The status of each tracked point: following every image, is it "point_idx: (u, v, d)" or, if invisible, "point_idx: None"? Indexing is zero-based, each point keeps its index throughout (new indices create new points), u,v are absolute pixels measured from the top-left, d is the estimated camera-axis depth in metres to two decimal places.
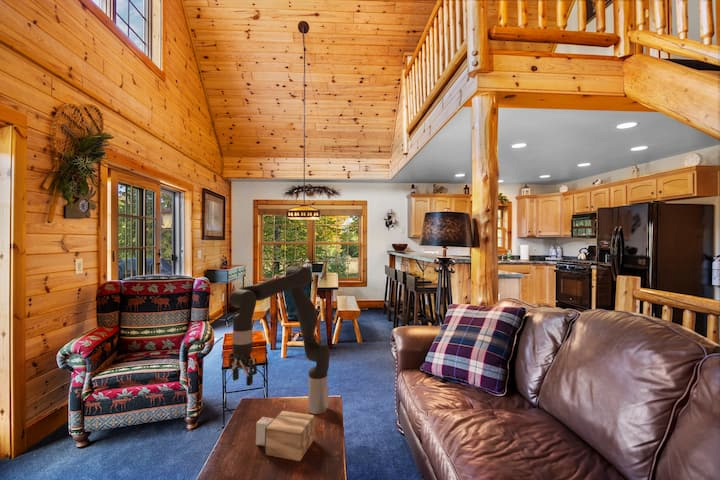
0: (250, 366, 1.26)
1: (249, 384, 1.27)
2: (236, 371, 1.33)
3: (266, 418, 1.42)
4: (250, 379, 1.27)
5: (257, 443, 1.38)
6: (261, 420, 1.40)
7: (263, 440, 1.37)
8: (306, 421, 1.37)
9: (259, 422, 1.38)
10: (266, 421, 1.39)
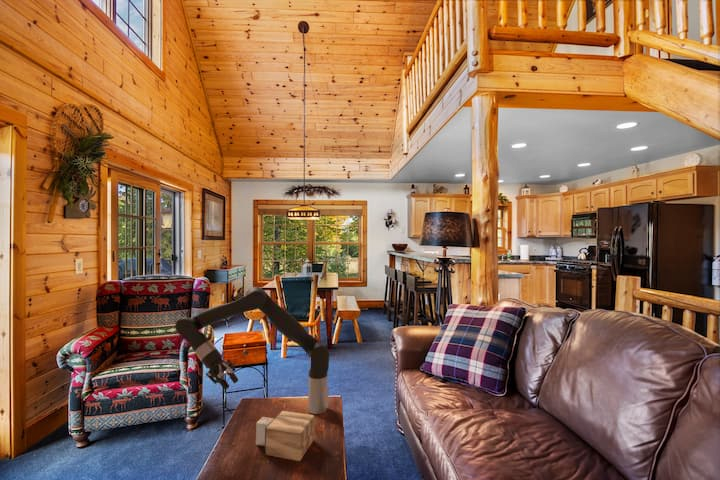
0: None
1: (224, 388, 1.40)
2: (231, 376, 1.47)
3: (266, 418, 1.42)
4: (222, 384, 1.40)
5: (257, 443, 1.38)
6: (261, 420, 1.40)
7: (263, 440, 1.37)
8: (306, 421, 1.37)
9: (259, 422, 1.38)
10: (266, 421, 1.39)
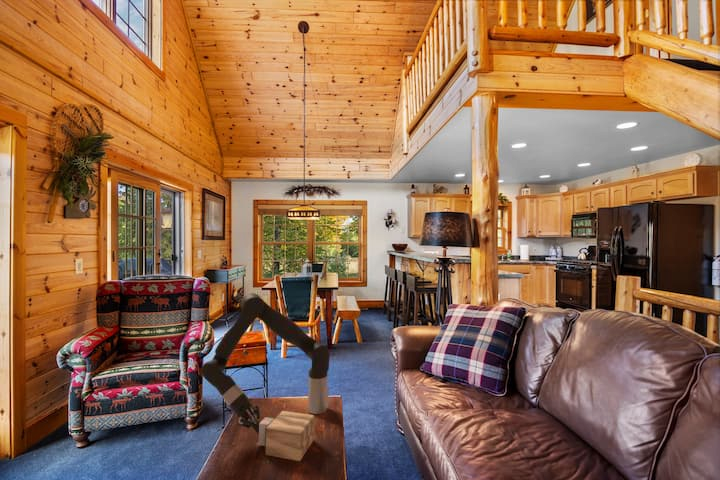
0: None
1: (257, 432, 1.39)
2: None
3: (268, 418, 1.41)
4: (255, 428, 1.39)
5: (260, 444, 1.37)
6: (264, 420, 1.40)
7: None
8: (306, 421, 1.37)
9: (262, 422, 1.38)
10: (269, 421, 1.39)
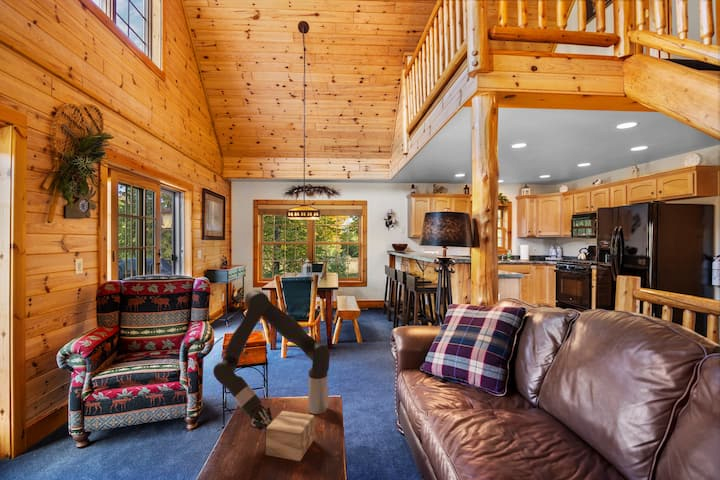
0: None
1: None
2: None
3: None
4: None
5: None
6: None
7: None
8: (306, 421, 1.37)
9: None
10: None
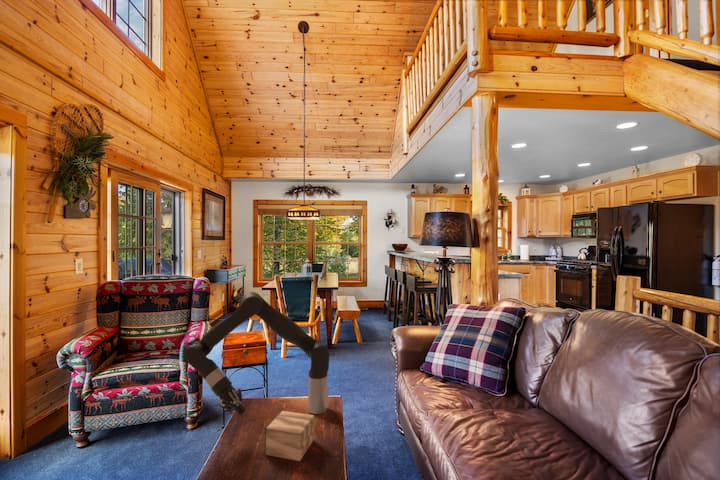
0: None
1: (239, 414, 1.41)
2: None
3: None
4: (237, 410, 1.41)
5: None
6: None
7: None
8: (306, 421, 1.37)
9: None
10: None
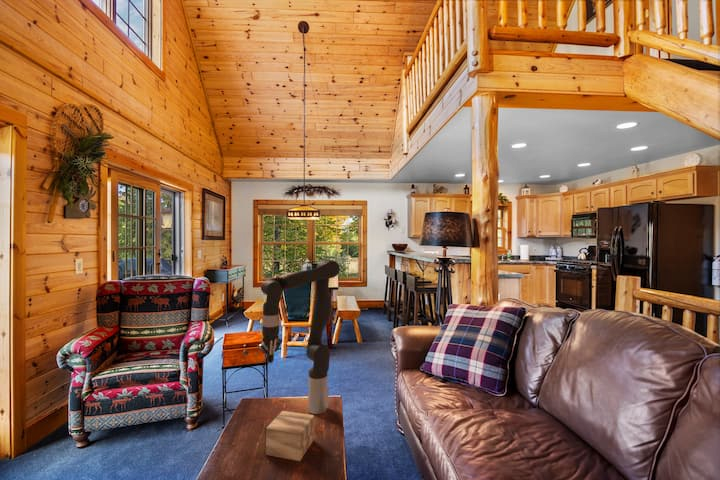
0: None
1: (267, 361, 1.52)
2: None
3: None
4: (267, 357, 1.51)
5: None
6: None
7: None
8: (306, 421, 1.37)
9: None
10: None
